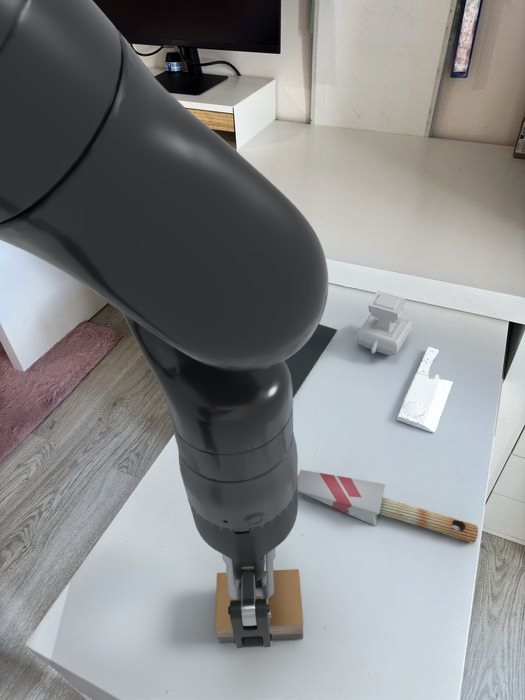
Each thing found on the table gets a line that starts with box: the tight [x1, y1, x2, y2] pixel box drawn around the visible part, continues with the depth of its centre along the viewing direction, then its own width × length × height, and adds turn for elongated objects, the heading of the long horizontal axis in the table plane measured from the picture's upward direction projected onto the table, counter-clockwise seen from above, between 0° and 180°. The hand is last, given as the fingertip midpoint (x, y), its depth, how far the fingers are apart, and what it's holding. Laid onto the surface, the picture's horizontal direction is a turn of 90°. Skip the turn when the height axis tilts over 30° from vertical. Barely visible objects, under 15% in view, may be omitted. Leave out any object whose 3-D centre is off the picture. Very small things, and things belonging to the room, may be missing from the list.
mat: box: [285, 323, 338, 398], centre depth 73 cm, size 26×7×1 cm, turn 151°
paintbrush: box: [298, 469, 479, 544], centre depth 56 cm, size 4×3×20 cm
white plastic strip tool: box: [396, 346, 454, 434], centre depth 70 cm, size 5×15×1 cm, turn 151°
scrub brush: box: [214, 568, 304, 644], centre depth 49 cm, size 8×5×4 cm, turn 92°
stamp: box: [354, 290, 413, 357], centre depth 75 cm, size 9×7×8 cm
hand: (255, 575), depth 45 cm, fingers open, 8 cm apart
